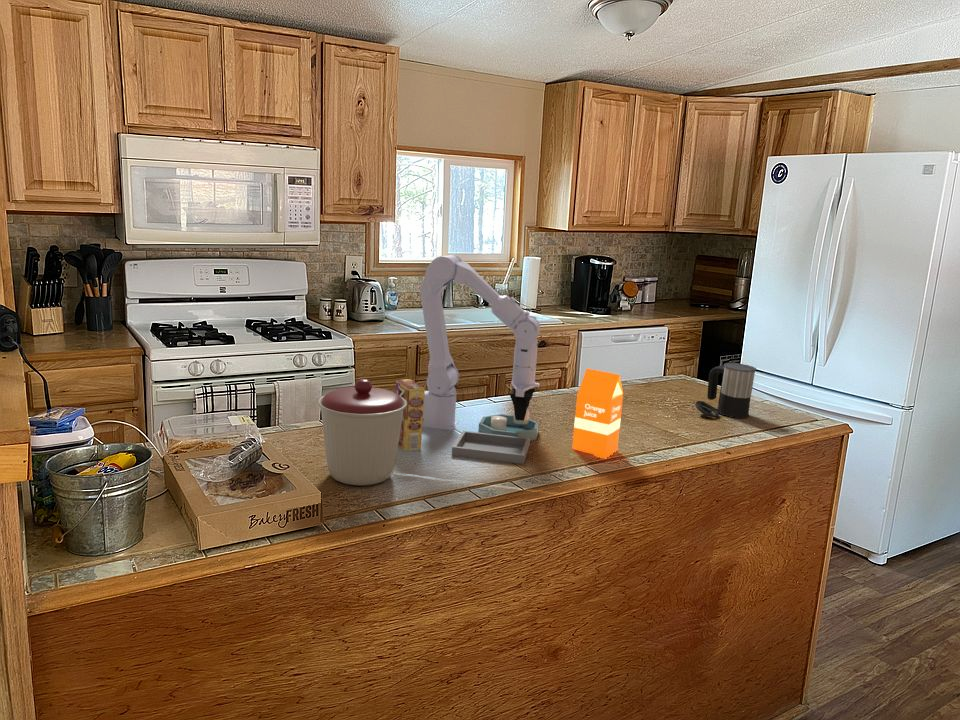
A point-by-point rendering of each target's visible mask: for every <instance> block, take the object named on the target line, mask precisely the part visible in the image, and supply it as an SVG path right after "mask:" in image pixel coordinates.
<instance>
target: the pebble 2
mask: <svg viewBox="0 0 960 720" xmlns="http://www.w3.org/2000/svg"><path fill="white" fill-rule="evenodd" d="M530 411H531V410H530V408H529V407H528V408H527V411H526V415H525V418H524V421H522V420H516V419H515V413H514V412H513V414H512V415H513V422H514V423H516V424H528V423H529V419H530Z"/></svg>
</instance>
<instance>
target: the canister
mask: <svg viewBox="0 0 960 720" xmlns="http://www.w3.org/2000/svg"><path fill="white" fill-rule="evenodd" d="M317 405H318V407H319V408H320V410H321V411H320V412H321V423H322V429H323V430H322V432H323V443H324V450H325V459H326V466H327V469H328V470H327V471H328V472H329V474H330V475H331V477H332V478H333V479H334V480H335V481H337V482H339V483H341V484H345V485H348V486H349V485H350V486H351V485H352V486H371V485H375V484H380V483H383V482H384V481H386V480H387V479H388V478H389V477H390V476H391V475H392V473H393V471H394V468H395V465H396V459H397V455H398V449H399V444H398V443H399V437H400V430H401V424H402V417H403V410H404V409H405V408H406V406H407V401H406V400H405V399H404V398H402V397H400V396H399V395H398V394H396V392H395V391H391V390H389V389H386V388H379V387H373V384H372V382H371V381H370V379H369V380H368V379H366V378H362V379H361V378H360V379H358V380H356V381H355V383H354V386H350V387H341V388H337V389H334V390H331V391H329V392H327V393H326V394H324V395H322V396H321V397H319V399H318V400H317Z"/></svg>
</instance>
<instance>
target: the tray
mask: <svg viewBox="0 0 960 720" xmlns="http://www.w3.org/2000/svg"><path fill="white" fill-rule="evenodd" d="M530 442H531V441H530V438H522V437H514V436H505V435H496V434H487V433H478V432H477V431H467V430H462V431H461V433H460V434H459V436H458V438H457V439H456V440H455V442H454V443H453V445H452V446H451V456H453V457H461V458H467V459H468V458H471V459H476V460H477V459H478V460H486V461H494V462H502V463H511V464H520V465H524V463H525V460H526V458H527V455H528V452H529V448H530V444H531V443H530Z"/></svg>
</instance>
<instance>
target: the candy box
mask: <svg viewBox="0 0 960 720" xmlns="http://www.w3.org/2000/svg"><path fill="white" fill-rule="evenodd" d="M425 389H426V388H425V387H423V386H422V385H420V384H419V383H417V382H416V381H415V380H413V379H410V378H409V379H408V378H407V379H406V378H405V379H396V380H395V393H396V394H398V395H399V396H400V397H402V398H404V399H405V400H406V401H407V406H406V408H405V409H404V410H403V417H402V424H401V430H400V437H399V443H398V446H400V447H401V448H402V449H403V450H404V451H417V450H421V449H422V439H423V438H422V437H423V427H422V424H423V409H424V395H425V391H426V390H425Z"/></svg>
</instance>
